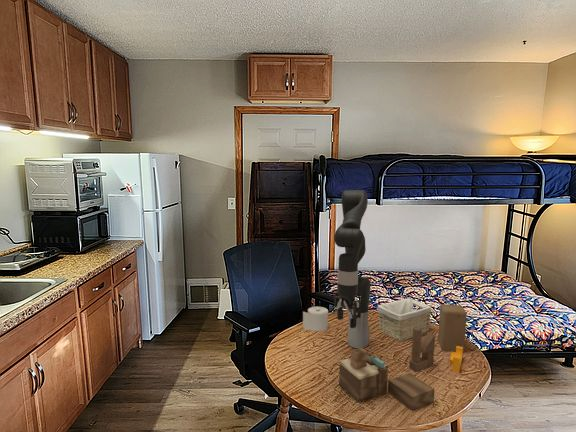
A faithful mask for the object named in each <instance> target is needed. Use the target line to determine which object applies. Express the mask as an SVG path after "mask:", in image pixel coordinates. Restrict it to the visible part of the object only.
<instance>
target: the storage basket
mask: <svg viewBox="0 0 576 432" xmlns="http://www.w3.org/2000/svg"><path fill="white" fill-rule="evenodd" d="M414 306H415V307H417V308H420V309H417V310H416V309H415V307H414ZM377 314H378V316H377V317H378V327H379V332H382V333H383V334H385V335H387V336H389V337H390V338H393V339H394V340H396V341H398V342H402V341H405V340H409V339H412V338H413V328H414V327H420V328H421V329H422V335H424V334H427V333H428V332H429V330H430V329H429V328H430V324H431V323H430V322H431V316H432V307H431V305H429V304H426V303H423V302H421V301H418V300H416V299H413V298H410V297H407V298H404V299H399V300H394V301H390V302H386V303H383V304H379V305H377Z"/></svg>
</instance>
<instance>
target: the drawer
mask: <svg viewBox="0 0 576 432" xmlns="http://www.w3.org/2000/svg"><path fill="white" fill-rule="evenodd" d="M367 353H368V351H367V350H366V349H365V348H354V349H351V350H350V357H349V358H346V359H342V360H338V361H339V365H340V364H341V365H342V366H343V367H344V368H346V369H347V370H348V371H349V372H351V373H352V374H353V375H354V376H356V377H357V378H358V379H359V380H360V379H363V378H366V377H370V376H373V375H376V374H379V371H378V368H380V367H379V366H377V365H376V364H375V365H372V366H371V365H370V364H368V363H367ZM385 366H387V365H386V364H385Z"/></svg>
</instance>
